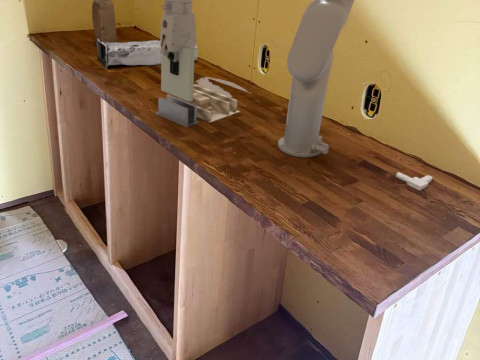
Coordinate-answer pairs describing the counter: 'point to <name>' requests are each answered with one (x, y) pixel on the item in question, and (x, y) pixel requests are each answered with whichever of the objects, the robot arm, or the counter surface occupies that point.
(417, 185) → the corner connector
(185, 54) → the grey-green panel
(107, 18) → the block
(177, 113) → the stand
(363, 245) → the counter surface
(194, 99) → the offcut stack
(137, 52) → the concrete block
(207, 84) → the stone tablet
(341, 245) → the counter surface
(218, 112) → the rack
